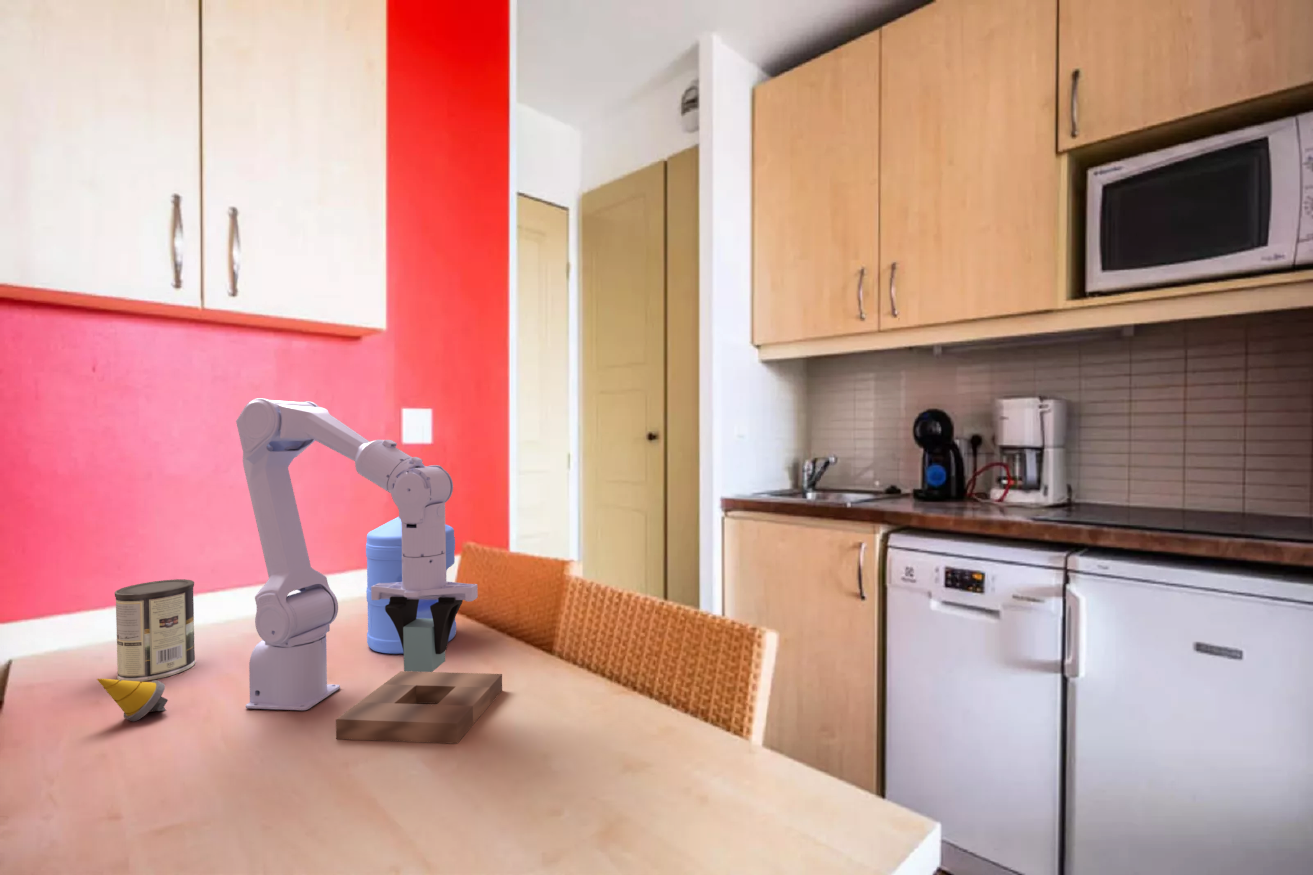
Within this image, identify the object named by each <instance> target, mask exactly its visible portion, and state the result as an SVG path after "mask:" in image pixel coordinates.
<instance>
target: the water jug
mask: <svg viewBox="0 0 1313 875" xmlns="http://www.w3.org/2000/svg"><path fill="white" fill-rule="evenodd" d="M445 535H446V572H447V571H448V569H450V567H452V566H453V565H454V564H455V560H456V559H455V551H456V537H455V530H454V527H452V526H450V525H449V524H446V523H445ZM365 556H366V579H367V580H366V583H367V584H366V585H367V586H366V591H365V592H366V603H367V633H366V643H367V645H368V647H369V648H370V649H371V650H372V651H374V652H378V653H381V654H389V655H391V654H392V655H398V654H399V655H401V654H402V655H404V652H403V648H402V644H401V640H400V637H399V635H398V632H397V630H396V627H395V625H394V623H393V622H392V620H391V618H390V617H389V615H388V614H387V613H386V611H385V606H386V605H388V604H389V602H390V599H380V600H371V586H373V585H376V584H378V583H396V582H402V526H401V519H399V516H397V517H396V518H394V519H391V520H389V521H387V522H386V523H384V524H382V525H380V526H378V527H376V528H375V529H373V530H370V531H368V533H367V535H366V544H365ZM436 602H438V600H430V599H419V603H418V609H417V617H416V619H417V618H427V619H433V617H432V613H431V610H430V606H431V605H433V604H434V603H436ZM456 635H457V622H456V618H455V619H454V622H453V625H452V628H451V631H450V635H449V639H448V643H449V642H450V641H452V640H453V639H454V638H455V636H456Z"/></svg>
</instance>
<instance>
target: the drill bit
mask: <svg viewBox="0 0 1313 875" xmlns="http://www.w3.org/2000/svg"><path fill="white" fill-rule="evenodd" d="M96 680H97V682H98V683H99V684H100V685H101V686H102V687H103V688H104V690H105V691H106V692H107V693H108V695H109V696H110V697H111V699H112V700H113V701H114V702H115V703H116V704H117V706H118V707H119V708H120V709H121V710H122V712H123V718H124V719H126V720H128V721H131V722H137V721H138V720H141V719H142V718H143V717H144V716H146V715H147V714H148V713H150V712H151V713H152V712H163V711H167V709H166V708H165V706H166V704H167V703H168V701H169V700H168V699H167V698H165V697H163V693H164V692H165V687H166V686H165V683H164V682H162V681H160V680H159V679H155V680H150V681H127V680H122V681H119V680H118V679H113V678H96Z"/></svg>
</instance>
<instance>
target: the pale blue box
mask: <svg viewBox="0 0 1313 875" xmlns="http://www.w3.org/2000/svg"><path fill="white" fill-rule="evenodd" d="M403 640H404V654H403V671H411V672H435V670H437V669H438V668H439V667H440V666H441V665H442V664H444V663H445V662H446V650H445V651H444V652H443V653H442V654H436V652H435V630H434V622H433V619H427V618H417V619H416V620H414V621H413V622H411V623H409V624H408V625H406V626H404V627H403Z"/></svg>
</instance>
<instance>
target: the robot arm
mask: <svg viewBox="0 0 1313 875" xmlns="http://www.w3.org/2000/svg"><path fill="white" fill-rule="evenodd" d="M235 422H236V428H237V432H238V436H239V439H240V445H241V449H242V466H243V470H244V474H245V479H246V483H247V488H248V491H249V496H250V502H251V506H252V509H253V514H254V519H255V523H256V528H257V530H258V537H259V540H260V544H261V549H262V554H263V556H264V557H263V558H264V562H265V566H266V571H267V575H268V579H267V581H265V583H264V585H263V586H262V587H261V588H260V589H259V591H258V592H257V593H256V595H255V596H254V601H255V605H256V613H255V619H254V622H255V630H256V632H257V634H258V636H259V637H260V639H262V640H260V641H259V642H257V644H256V645H255V646H254V648H253V650H252V652H251V655H250V657H249V663H248V664H249V666H248V668H249V669H248V673H249V674H248V676H249V678H248V679H249V702H248V703H246V704H245V709H254V710H257V709H259V710H260V709H261V710H286V711H287V710H288V711H289V710H290V711H307V710H309V709H311V708H313V707H314V706H316V705H317V704H319V702H321V701H324V699H326V698H328V697H329V696H330V695H332V694H333V693H336V692H337V691H338V690H339V689H340V688H341V684H329V683H328V673H327V672H328V669H327V668H328V667H327V666H328V663H327V661H328V659H327V657H328V656H327V650H328V649H327V647H328V646H327V633H329V632H330V630H331V629H330V626H331V624H333V622H334V621H335V620H336V619H337V616H338V613H339V602H338V599H337V597H336V595H335V593H334V592H333V590H332V589H331V588H330V585H329V582H328V579H327V578H328V577H327V576H326V575H325V574H324V573H321V572H320V571H318V570H316V569H314V568H313V567H312V566H311V561H310V556H309V553H308V548H307V544H306V539H305V535H304V532H303V526H302V522H301V518H300V514H299V509H298V505H297V501H296V497H295V492H294V487H293V483H292V479H291V476H290V475H291V474H290V471H289V467H290V465H291V463H292V462H293V460H294V459H295V458H296V457H298V456H300V454H302V453H303V452H304V451H305V450H306V449H307V448H309V447H310V446H311V445H312V444H313V443H314V442H318V443H320V444H321V445H324V447H326V448H329V449H331V450H333V451H334V452H336V453H338V454H340V455H342V456H344V457H345V458H348V459H350V460H352V461H354V464H355V465H354V466H355V467H354V468H355V471H356V472H357V474H359V475H360V476H362V477H364V478H365V479H367V480H368V481H370V482H372V483H373V484H375V485H376V486H378V487H380V488H381V489H382V490H384V491H385V492H388V493H389V494H390V495H391V500H392V501H393V503H394V504H395V505H396V507H397V509H398V517H399V519H401V526H402V582H396V583H378V584H376V585H373V586H371V600H380V599H390V602H389V604H388V605H386V606H385V611H386V613H387V614H388V615H389V617H390V618H391V620H392V622H393V623H394V625H395V627H396V630H397V632H398V635H399V637H400V640H401V644H402V648H403V652H404V640H403V627H404V626H406V625H408V624H409V623H411V622H413V621H414V620H416V617H417V609H418V603H419V599H430V600H438V602H436V603H434V604H433V605H431V606H430V610H431V613H432V617H433V622H434V630H435V652H436V654H442V653H443V652H444V651H445V652H446V651H447V650H448V643H449V642H448V639H449V635H450V631H451V628H452V625H453V622H454V619H455V620H456V616H457V615H458V612H459V609H460V608H461V606H462V604H463V603H464V602H463V601H465V602H473V601H474V600H476V599H477V598H478V596H479V595H478V584H477V583H464V582H455V581H448V580H447V571H446V535H445V524H446V503H447V502H448V501H449V500H450V498H452V494H453V492H454V491H453V490H454V482H453V479H452V476H451V475H450V473H449V472H448V471H447V470H446V469H444V468H443V467H442V466H441V465H437V464H433V465H432V464H431V465H428V466H427V465H425V464H424V463H423V459H422V458H420V457H418V456H413V457H412V456H411V455H409V454H408V453H406V452H404V451H403V450H401V449H399V448H397V446H398V442H396V441H394V440H392V439H374V440H372V441H369V440H368V439H367V438H365V437H364V436H362V435H361V434H360V433H358V432H356V431H355V430H354V429H352V428H350V427H349V426H348V425H347V424H345V423H343V422H342V421H340V420H339V419H337V418H336V417H335V416H333V415H331V414H330V412H329V409H327V408H324V407H322V406H319V405H318V404H317V403H316V402H313V401H306V400H305V401H292V400H289V401H288V400H274V399H268V398H261V397H259V398H254V399H251V400H250V401H249V402H248V403H246V405H245V406H244V407H243V409H242V411H241V413H240V414H239V416H238V417H237V418H236V421H235ZM294 591H298V592H295V593H292V592H294ZM290 593H292V594H290ZM289 594H290V595H289Z"/></svg>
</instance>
